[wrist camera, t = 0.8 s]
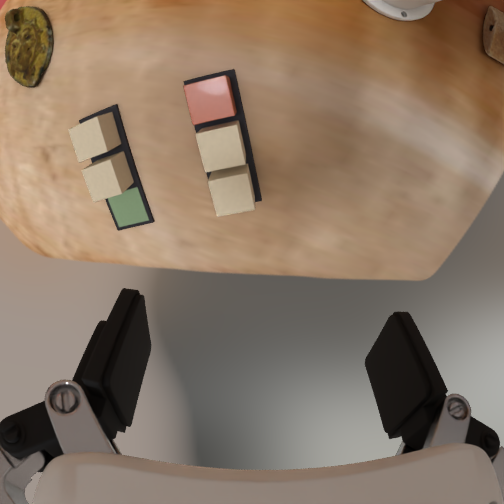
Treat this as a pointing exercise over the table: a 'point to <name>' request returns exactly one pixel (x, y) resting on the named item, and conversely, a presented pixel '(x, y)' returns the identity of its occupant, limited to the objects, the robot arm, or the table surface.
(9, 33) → the seal
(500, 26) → the stone cup
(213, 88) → the rust orange cube
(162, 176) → the table surface
